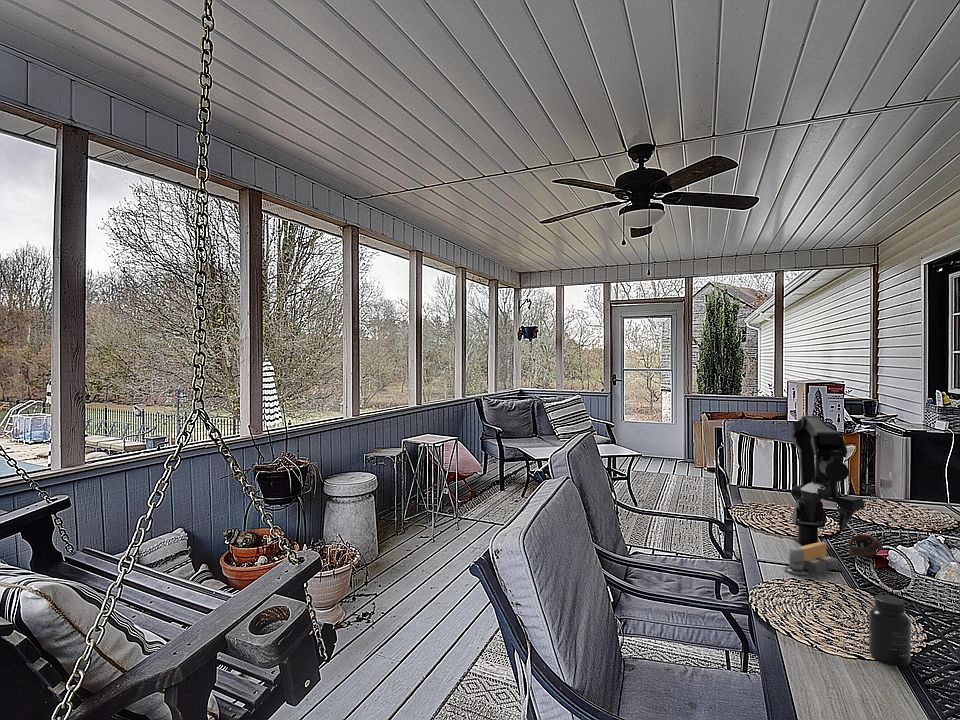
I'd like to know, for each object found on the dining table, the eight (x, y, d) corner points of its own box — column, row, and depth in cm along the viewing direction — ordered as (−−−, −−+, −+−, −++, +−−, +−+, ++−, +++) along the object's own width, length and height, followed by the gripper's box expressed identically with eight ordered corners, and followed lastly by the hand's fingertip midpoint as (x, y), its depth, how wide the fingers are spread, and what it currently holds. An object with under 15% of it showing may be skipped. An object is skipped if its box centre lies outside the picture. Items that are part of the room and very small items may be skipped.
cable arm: (798, 564, 154) (798, 552, 154) (786, 560, 157) (786, 548, 157) (829, 556, 161) (829, 544, 161) (817, 552, 164) (817, 540, 164)
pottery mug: (897, 566, 161) (886, 543, 160) (864, 577, 163) (853, 554, 162) (874, 544, 172) (864, 522, 171) (844, 555, 175) (834, 533, 174)
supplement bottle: (860, 649, 114) (860, 592, 114) (890, 648, 115) (891, 591, 115) (887, 668, 107) (887, 607, 107) (919, 666, 108) (920, 606, 108)
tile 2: (803, 562, 164) (804, 553, 164) (813, 559, 166) (813, 551, 166) (827, 570, 157) (827, 561, 157) (837, 567, 160) (837, 558, 160)
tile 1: (792, 565, 161) (792, 556, 161) (802, 562, 163) (802, 554, 163) (816, 573, 155) (816, 564, 155) (826, 570, 157) (826, 561, 157)
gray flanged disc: (781, 567, 160) (781, 558, 160) (802, 568, 159) (802, 559, 159) (790, 575, 154) (790, 565, 154) (812, 576, 153) (812, 566, 153)
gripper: (779, 469, 167) (778, 520, 167) (839, 483, 149) (839, 539, 150) (804, 466, 171) (803, 515, 171) (866, 479, 154) (865, 534, 154)
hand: (825, 525), depth 161 cm, fingers open, 9 cm apart
